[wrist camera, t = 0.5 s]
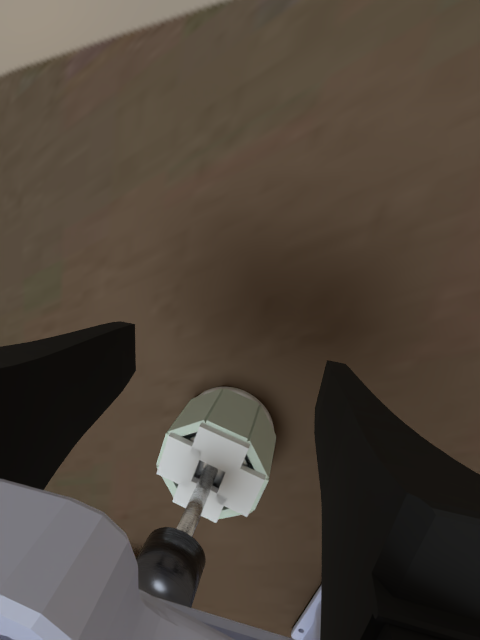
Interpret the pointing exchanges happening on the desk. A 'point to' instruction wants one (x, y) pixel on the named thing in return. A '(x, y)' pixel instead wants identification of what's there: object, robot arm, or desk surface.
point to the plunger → (178, 547)
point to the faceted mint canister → (220, 451)
